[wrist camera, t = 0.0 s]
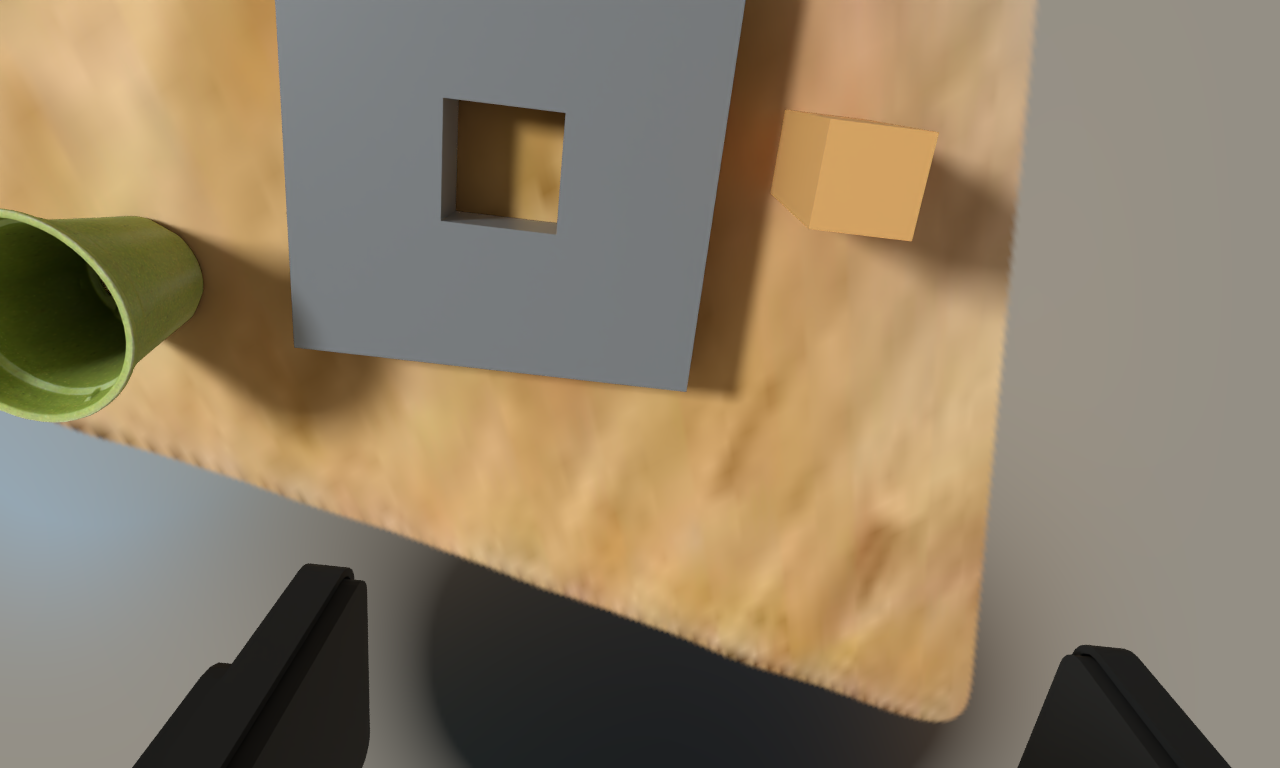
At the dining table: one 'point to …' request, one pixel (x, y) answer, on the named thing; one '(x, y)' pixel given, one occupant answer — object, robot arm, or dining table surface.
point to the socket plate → (494, 245)
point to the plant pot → (85, 308)
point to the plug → (852, 174)
